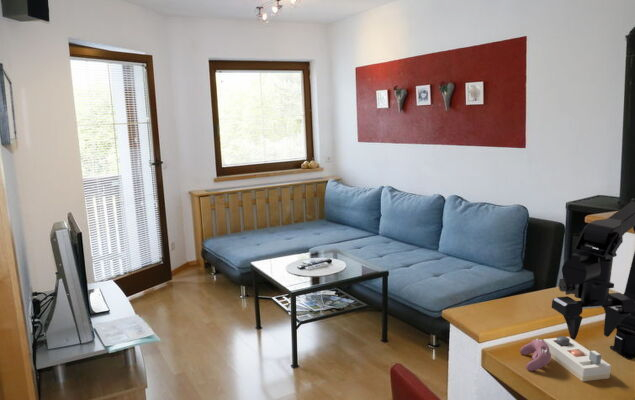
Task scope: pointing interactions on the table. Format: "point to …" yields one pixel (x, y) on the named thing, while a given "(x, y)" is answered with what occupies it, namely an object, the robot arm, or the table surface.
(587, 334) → the table surface
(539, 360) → the video game controller
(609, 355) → the table surface
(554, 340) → the switch panel
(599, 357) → the slide switch
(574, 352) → the salmon orange button
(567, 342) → the black button
